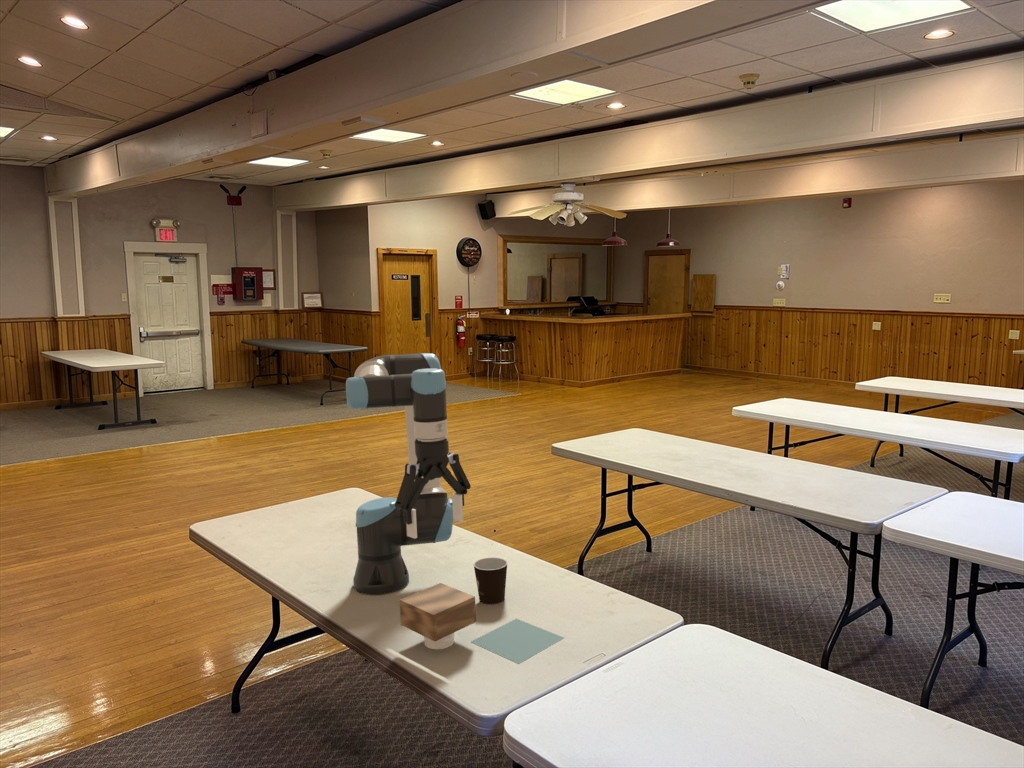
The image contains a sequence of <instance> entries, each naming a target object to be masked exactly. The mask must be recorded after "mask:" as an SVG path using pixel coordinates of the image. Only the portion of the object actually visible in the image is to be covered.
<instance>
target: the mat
mask: <svg viewBox="0 0 1024 768" xmlns="http://www.w3.org/2000/svg"><path fill="white" fill-rule="evenodd" d="M563 639H565V637H564V636H561V635H559V634H556V633H553V632H551V631H548V630H546V629H543V628H541V627H538V626H536V625H533V624H531V623H528V622H525V621H523V620H521V619H519V618H515V619H512V620H510V621H508V622H507V623H505V624H503V625H501V626H499V627H497V628H494V629H493V630H491V631H489V632H487V633H485V634H483V635H482V636H480V637H477V638H475V639H473V640H471V641H470V643H471V644H474V645H476V646H478V647H480V648H483V649H485V650H487V651H489V652H492V653H494V654H496V655H498V656H500V657H503V658H504V659H506V660H509V661H511V662H514V663H516V664H517V665H519V664H522V663H524V662H525V661H527V660H529V659H531V658H532V657H534V656H535V655H537V654H538V653H541V652H542V651H544V650H546V649H548V648H549V647H551V646H553V645H554V644H556V643H558V642H560V641H562V640H563Z"/></svg>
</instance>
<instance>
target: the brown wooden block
mask: <svg viewBox="0 0 1024 768" xmlns="http://www.w3.org/2000/svg"><path fill="white" fill-rule="evenodd" d="M399 612H400V615H399V617H400V626H402V627H404V628H406V629H408V630H411V632H414V633H416V634H419V635H421V636H422V637H424V636H425V637H427V638H429V639H431V640H433V641H437V640H440V639H442V638H444V637H446V636H448V635H450V634H452V633H454V634H455V633H456V632H458V631H460V630H463V629H464V628H467V627H468V626H471V625H472V624H475V623H477V614H476V612H477V609H476V595H475V596H474V595H473V594H470V593H467V592H465V591H462V590H459V589H457V588H454V587H452V586H449V585H448V584H447V585H446V584H444V583H442V582H440V583H436V584H434V585H432V586H430V587H427V588H425V589H424V588H423V590H420V591H418V592H416V593H412V594H409V595H408V596H407V595H406V596H405V597H402V598H400V599H399Z"/></svg>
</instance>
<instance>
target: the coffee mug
mask: <svg viewBox="0 0 1024 768" xmlns="http://www.w3.org/2000/svg"><path fill="white" fill-rule="evenodd" d="M473 569H474V574H475V581H476V587H477V593H478V599H479V603H482V604H484V605H496V604H499V603H502V602H504V600H505V597H506V583H507V570H508V561H507V560H506V559H504V558H501V557H495V556H493V557H483V558H479V559H477V560H476V561H474V562H473Z"/></svg>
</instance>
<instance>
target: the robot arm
mask: <svg viewBox="0 0 1024 768" xmlns="http://www.w3.org/2000/svg"><path fill="white" fill-rule="evenodd" d="M345 394H346V405H347V407H348V408H349V409H350V410H367V409H378V408H391V407H392V408H393V407H395V408H396V407H404V414H405V425H406V427H405V428H406V438H407V439H406V440H407V455H408V458H407V459H408V463H406V464H405V465H404V476H403V478H402V481H401V485H400V488H399V489H398V490H399V491H398V494H397V497H393V496H392V497H389V496H388V497H387V496H386V497H380V498H374V499H372V500H371V499H370V500H369V501H366V502H364V503H363V504H361V505H359V507H357V509H356V511H355V524H354V525H355V527H356V538H357V539H356V542H357V555H358V557H357V558H358V560H357V563H356V567H355V572H354V575H353V580H352V583H353V589H354V590H355V592H358V593H360V594H363V595H375V596H376V595H385V594H391V593H394V592H395V593H396V592H397V591H400V590H402V589H404V588H405V587H406V586H407V585H408V584H409V582H410V576H409V575H410V573H409V570H408V568H407V565H406V563H405V560H404V558H403V555H402V546H403V547H404V546H414V545H423V544H436V543H442V542H447V541H448V540H449V539H450V538H451V537H452V535H453V534H452V533H453V526H454V525H453V524H454V521H456V522H459V523H463V522H464V512H463V511H464V510H463V509H464V506H465V495H467V493H468V490H470V489H471V486H472V485H471V484H470V481H469V479H468V477H467V475H466V473H465V470H464V469H463V467H462V465H461V463H460V456H459V454H458V453H454V452H450V448H449V446H450V445H449V438H448V437H447V436H448V434H449V431H448V428H449V427H448V425H449V424H448V413H447V411H448V410H447V382H446V374H445V371H444V370H443V369H442V366H441V363H440V360H439V358H438V356H437V355H436V354H434V353H432V352H431V353H422V352H417V353H406V354H405V353H403V354H385V355H383V354H382V355H379V356H375V357H373V358H370V359H367V360H365V361H364V362H362V363H360V364H359V366H358V367H357V368H356V369H355V371H354V375H353V377H352V376H351V377H348V378H347V379H346V381H345ZM448 465H449V466H450V468H451V470H452V472H451V471H450V470H449V468H448ZM452 473H453V474H452ZM441 478H443V479H444V481H445V483H447V484H448V485H449V486H450V487H451V489H452V490H453V491H454V492H452V493H451V495H452V496H451V497H448V492H447V490H445V489H444V488H443V487H442V483H441V482H442V479H441Z"/></svg>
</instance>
